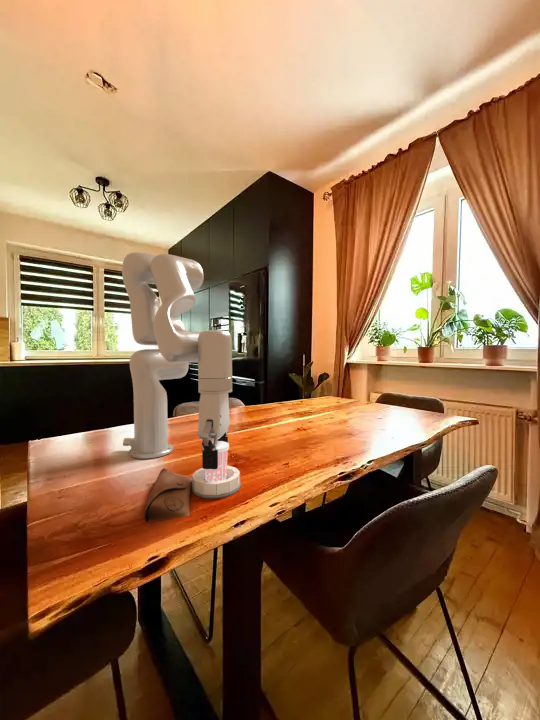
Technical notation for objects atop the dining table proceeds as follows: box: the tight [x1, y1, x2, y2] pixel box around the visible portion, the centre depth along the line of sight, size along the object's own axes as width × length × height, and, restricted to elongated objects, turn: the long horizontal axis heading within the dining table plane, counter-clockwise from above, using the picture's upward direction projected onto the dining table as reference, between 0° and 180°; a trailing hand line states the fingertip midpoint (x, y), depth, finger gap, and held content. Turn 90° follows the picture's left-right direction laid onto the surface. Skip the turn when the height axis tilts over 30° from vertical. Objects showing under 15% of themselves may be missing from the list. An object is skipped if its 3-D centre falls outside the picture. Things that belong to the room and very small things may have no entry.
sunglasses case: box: [144, 468, 192, 523], centre depth 64 cm, size 18×7×7 cm
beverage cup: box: [205, 440, 230, 481], centre depth 68 cm, size 6×6×14 cm
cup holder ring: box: [191, 464, 241, 499], centre depth 68 cm, size 11×11×3 cm
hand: (216, 460), depth 68 cm, fingers open, 9 cm apart
